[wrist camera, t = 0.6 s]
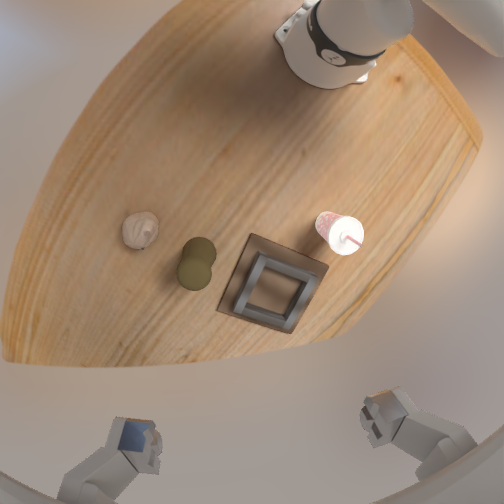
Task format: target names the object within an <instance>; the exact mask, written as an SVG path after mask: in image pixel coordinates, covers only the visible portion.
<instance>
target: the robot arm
mask: <svg viewBox="0 0 504 504" xmlns="http://www.w3.org/2000/svg"><path fill="white" fill-rule="evenodd" d="M422 1H423V2H424V3H426V4H427V5H428V6H430V7H431V8H432V9H434V10H435V11H436V12H438V13H439V14H440V15H441V16H442V17H443V18H445V19H446V20H447V21H448V22H449V23H450V24H452V25H453V26H454V27H455V28H456V29H457V30H458V31H460V32H461V33H463V34H464V35H465V36H467V37H468V38H470V39H471V40H472V41H474V42H475V43H476V44H478V45H479V46H480V47H482V48H483V49H484V50H486V51H487V52H488V53H490V54H492V55H493V56H496V57H499V58H504V0H422ZM413 24H414V15H413V10H412V8H411V5H410V2H409V0H306V1H305V2H304V3H303V5H302V6H301V8H300V9H299V10H298V11H297V12H296V13H294V14H293V15H292V16H291V17H290V18H289V19H288V20H287V21H286V22H285V23H284V24H283V25H282V26H281V27H280V28H279V29H278V30H277V31H276V32H275V38H276V39H277V41H278V42H279V43H280V45H281V46H282V48H283V50H284V55H285V58H286V61H287V63H288V65H289V66H290V68H291V69H292V70H293V72H294V73H295V74H296V75H297V76H299V77H300V78H301V79H302V80H304V81H306V82H307V83H309V84H311V85H314V86H316V87H320V88H325V89H335V88H340V87H343V86H345V85H347V84H350V83H364V82H365V81H366V80H367V78H368V72H369V71H370V70H372V69H373V68H374V67H375V66H376V63H375V62H376V59H377V58H379V57H380V56H381V55H382V54H383V53H384V52H385V50H386V49H387V48H388V47H390V46H392V45H394V44H395V43H397V42H399V41H400V40H402V39H404V38H406V37H407V36H408V35H409V33H410V32H411V30H412V28H413ZM283 30H286V31H287V32H284V31H283ZM364 404H365V406H364V407H363V408H362V409H361V412H360V421H361V424H362V427H363V429H364V430H366V431H368V432H369V434H368V439H369V441H370V443H371V445H372V446H373V448H376V447H379V446H382V445H385V444H387V443H390V442H392V444H394V445H395V446H397V447H398V448H400V449H402V450H403V451H405V452H406V453H408V454H410V455H411V456H413V457H415V458H416V459H418V460H420V461H422V462H423V463H422V464H421V465H420V466H419V467H418V468H417V470H416V472H415V474H416V475H417V477H418V479H419V481H420V482H418V483H416V484H414V485H412V486H410V487H408V488H406V489H404V490H402V491H399V492H397V493H395V494H393V495H390V496H388V497H386V498H383V499H381V500H378V501H376V502H373V503H370V504H504V425H502V426H501V427H500V428H499V429H498V430H497V431H495V432H494V433H493V434H492V435H491V436H489V437H488V438H487V439H485V440H484V441H483V442H482V443H480V444H479V445H478V444H477V443H476V442H475V441H474V439H473V438H472V436H471V435H470V434H469V432H468V431H467V430H466V429H465V428H464V426H462V425H459V424H456V423H454V422H451V421H449V420H446V419H443V418H441V417H438V416H436V415H433V414H431V413H428V412H426V411H423V410H420V411H419V410H418V409H417V408H416V406H415V405H414V404H413V402H412V401H411V400H410V398H409V397H408V395H407V394H406V393H405V391H404V390H403V389H402V388H401V387H400V386H397V387H394V388H391V389H389V390H385V391H381V392H378V393H376V394H372V395H369V396H367V397H366V398H365V400H364ZM161 453H162V439H161V435H160V433H159V432H158V431H157V430H155V423H154V422H153V421H151V420H140V419H131V418H123V417H116V418H115V419H114V420H113V423H112V426H111V429H110V432H109V435H108V438H107V442H106V445H105V448H104V447H101V448H99V449H98V450H97V451H96V452H94V453H93V454H92V455H90V456H89V457H88V458H86V459H85V460H84V461H83V462H81V463H80V464H78V465H77V466H76V467H75V468H73V469H72V470H70V471H69V472H68V473H66V474H65V475H64V477H63V480H62V483H61V487H60V489H59V492H58V496H57V499H54V498H52V497H50V496H47V495H45V494H43V493H41V492H38V491H37V490H35V489H32V488H30V487H28V486H27V485H25V484H23V483H21V482H19V481H17V480H15V479H14V478H12V477H10V476H8V475H7V474H5V473H3V472H2V471H0V504H118V503H116V502H115V501H114V500H115V499H116V498H117V497H118V496H119V495H120V494H121V492H122V491H123V490H124V489H125V488H126V487H127V486H128V485H129V484H130V483H131V482H132V481H133V479H134V478H135V477H136V476H137V475H138V474H139V473H147V474H159V468H160V460H159V458H158V457H157V456H158V455H160V454H161Z"/></svg>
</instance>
